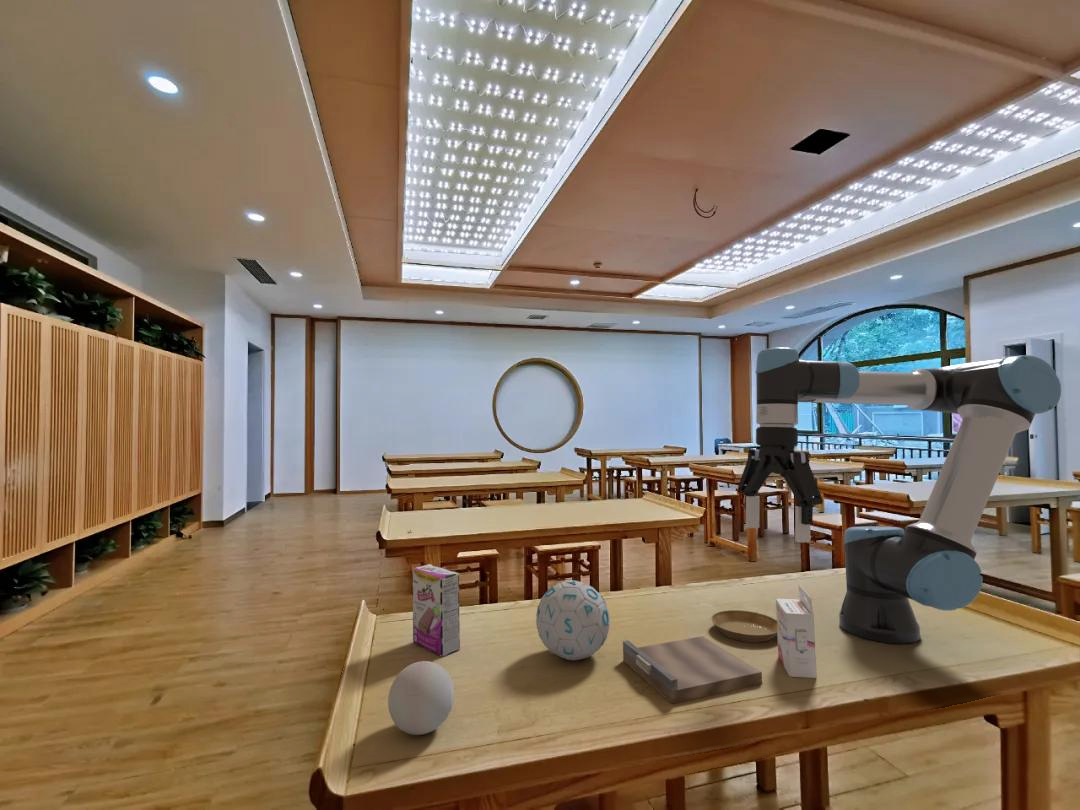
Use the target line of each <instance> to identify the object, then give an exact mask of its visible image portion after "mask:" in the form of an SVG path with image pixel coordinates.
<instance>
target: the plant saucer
mask: <svg viewBox="0 0 1080 810" xmlns="http://www.w3.org/2000/svg"><path fill="white" fill-rule="evenodd" d="M710 619H711V622H712V623H713V625H714V626H715V627H716V628H717V629H718V631H719V632H721V633H722V634H723V635H724V636H726V637H727V638H730V639H732V640H735V639H736V640H735V641H740V642H744V641H745V642H744V643H764V642H768V641H770V640H772V639H773V638H775V637H776V636H778V635H777V619H776V618H773V617H772V616H768V615H766V614H764V613H759V612H755V611H749V610H741V609H740V610H738V609H737V610H736V609H731V610H722V611H718V612H716V613H714V614H712V616H711V618H710ZM753 624H754V626H755V627H756V628H755V627H753ZM744 626H745V627H744ZM751 626H752V627H751ZM757 626H758V627H757ZM759 626H761V627H762V628H759ZM765 628H766V629H765Z"/></svg>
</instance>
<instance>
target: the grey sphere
mask: <svg viewBox="0 0 1080 810" xmlns="http://www.w3.org/2000/svg"><path fill="white" fill-rule="evenodd" d="M454 702H455V687H454V682H453V680H452V678H451V676H450V674H449V673H448V671H446V669H445V668H444V667H443V666H441V665H440V664H438V663H437V662H433V661H427V660H422V661H417V662H416V661H415V662H413V663H411V664H409V665H408V666H405V668H403V669H402V670H401V671H400V672H399V673H398V675H397V676H396V677H395V678H394V680H393V682H392V684H391V686H390V689H389V692H388V698H387V707H388V708H387V709H388V713H389V715H390V717H391V719H392V722H393V724H395V726H396V727H398V729H399V730H401V731H403V732H404V733H405V734H409V735H413V736H414V735H415V736H421V735H426V734H429V733H430V732H431V733H432V732H433V731H435V730H436V729H438V728H439V727H440V726H441V725H442V724H443V723H444V722H445V721H446V720H447V718H448V716H449V715H450V713H451V711H452V709H453V707H454Z"/></svg>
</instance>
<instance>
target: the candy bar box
mask: <svg viewBox="0 0 1080 810" xmlns="http://www.w3.org/2000/svg"><path fill="white" fill-rule="evenodd" d="M411 571H412V574H411V576H412V578H411V579H412V641H413V643H414V642H415V643H414V644H416V645H418V646H420V647H422V648H424V649H426V650H428V651H430V652H432V653H434V654H436V655H438V656H440V657H446V656H449V655H450V653H451V654H453V653H454V652H455V653H456V652H458V651H459V650H460V649H461V645H460V644H461V642H460V641H461V640H460V638H461V637H460V635H461V634H460V633H461V632H460V573H459V572H456V571H452V570H449V569H446V568H444V567H440V566H437V565H434V564H430V563H429V564H425V565H421V566H415V567H413V568H412V570H411Z"/></svg>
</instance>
